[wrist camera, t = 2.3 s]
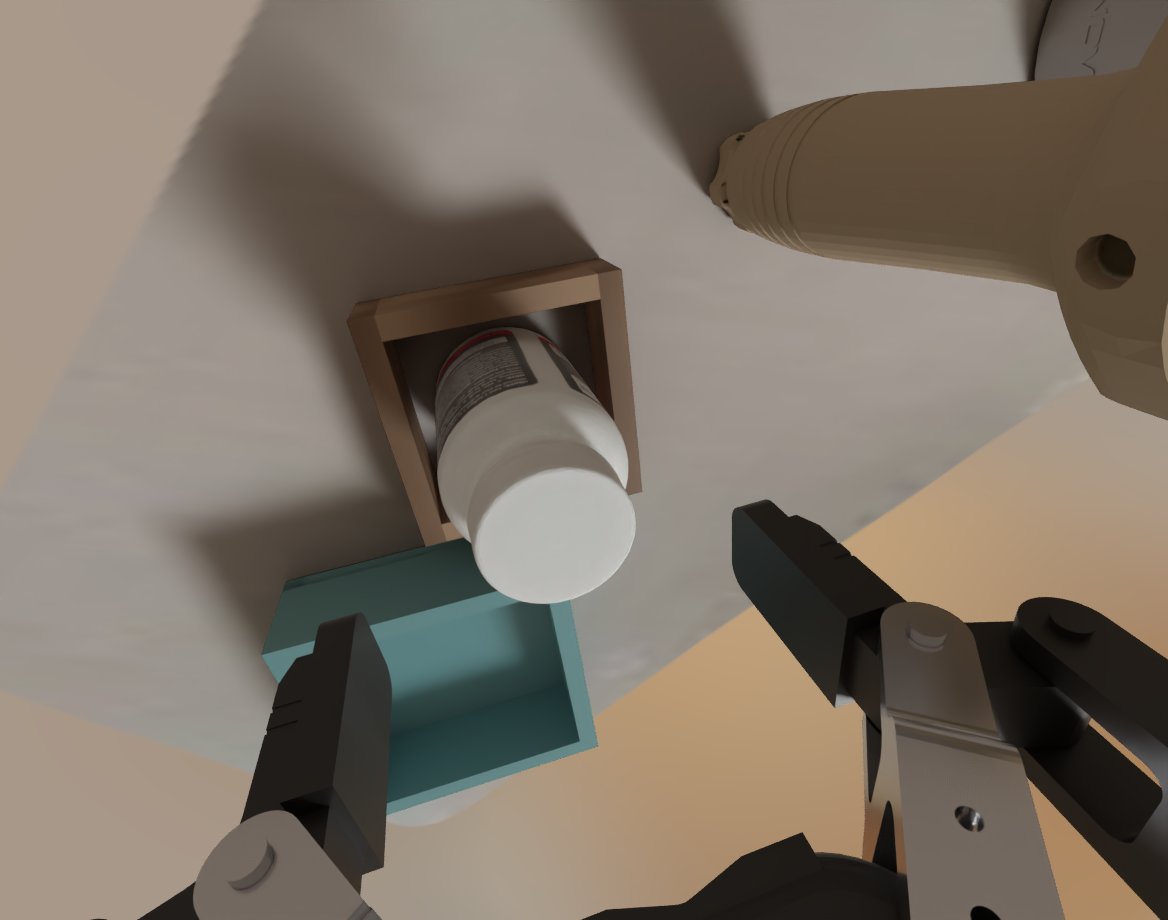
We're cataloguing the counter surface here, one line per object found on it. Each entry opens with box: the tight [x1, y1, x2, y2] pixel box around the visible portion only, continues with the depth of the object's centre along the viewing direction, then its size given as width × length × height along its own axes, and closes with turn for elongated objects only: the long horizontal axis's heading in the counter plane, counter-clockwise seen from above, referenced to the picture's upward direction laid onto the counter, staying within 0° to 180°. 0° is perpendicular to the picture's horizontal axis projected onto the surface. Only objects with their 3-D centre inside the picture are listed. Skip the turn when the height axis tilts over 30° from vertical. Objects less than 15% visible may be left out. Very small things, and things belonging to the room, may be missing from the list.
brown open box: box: [347, 258, 642, 547], centre depth 20 cm, size 9×9×2 cm
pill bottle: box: [435, 327, 636, 604], centre depth 17 cm, size 5×5×10 cm
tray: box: [261, 537, 598, 815], centre depth 24 cm, size 11×11×4 cm
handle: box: [709, 15, 1168, 420], centre depth 13 cm, size 5×6×15 cm
